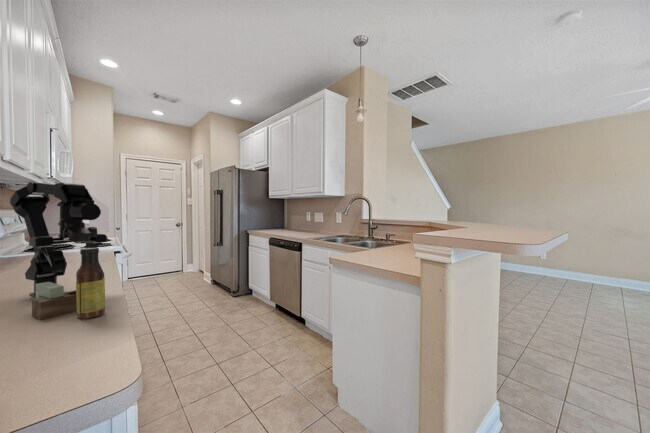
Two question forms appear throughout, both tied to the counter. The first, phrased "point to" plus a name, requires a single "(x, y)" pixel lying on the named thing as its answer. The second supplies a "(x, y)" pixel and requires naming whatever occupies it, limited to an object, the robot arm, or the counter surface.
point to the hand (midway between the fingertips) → (71, 264)
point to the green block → (49, 290)
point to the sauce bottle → (90, 285)
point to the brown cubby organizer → (54, 306)
